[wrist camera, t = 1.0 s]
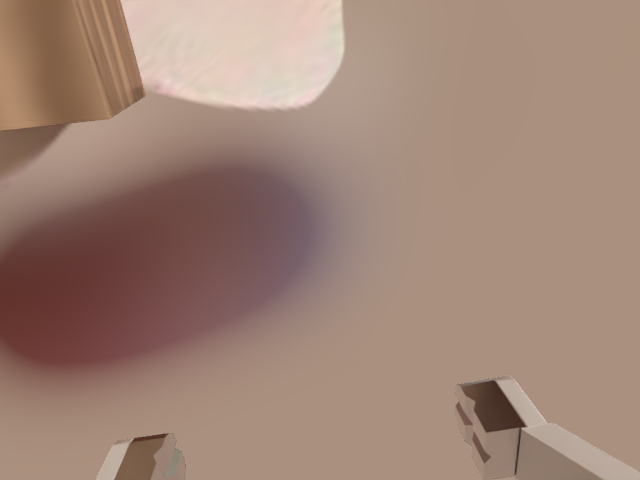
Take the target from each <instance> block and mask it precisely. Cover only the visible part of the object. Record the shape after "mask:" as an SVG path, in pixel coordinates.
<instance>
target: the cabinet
mask: <svg viewBox="0 0 640 480" xmlns="http://www.w3.org/2000/svg"><path fill="white" fill-rule="evenodd" d="M144 96H145V92H144V88H143V84H142V80H141V77H140V73H139V69H138V65H137V62H136V58H135V54H134V50H133V47H132V43H131V39H130V35H129V32H128V28H127V24H126V20H125V17H124V13H123V9H122V5H121V2H120V0H0V131H2V130H11V129H21V128H30V127H39V126H49V125H58V124H67V123H76V122H85V121H95V120H104V119H110V118H111V117H113V116H114V115H116V114H118V113H119V112H121V111H122V110H124V109H126V108H127V107H129V106H130V105H132V104H133V103H135V102H137V101H138V100H140V99H141V98H143V97H144Z"/></svg>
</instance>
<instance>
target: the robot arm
mask: <svg viewBox="0 0 640 480" xmlns="http://www.w3.org/2000/svg"><path fill="white" fill-rule="evenodd" d="M455 395H456V396H457V399H458V401H459V402H458V403H457V404H456V406H455V410H456V419H457V423H458V426H459V429H460V432H461V434H462V436H463V439H464V441H465V442H466V443H468V444H469V445H471V446H472V458H473V460H474V462H475V464H476V466H477V468H478V470H479V472H480V474H481V476H482V478H483V480H490V479H498V478H505V477H512V476H516V478H517V479H518V480H640V472H638V471H636V470H635V469H633V468H631V467H629V466H628V465H626V464H624V463H622V462H621V461H619V460H617V459H615V458H613V457H612V456H610V455H608V454H607V453H605V452H603V451H601V450H599V449H598V448H596V447H594V446H592V445H591V444H589V443H587V442H586V441H583V440H582V439H580V438H579V437H576V436H575V435H573V434H572V433H570V432H568V431H566V430H565V429H563V428H561V427H559V426H558V425H556V424H554V423H549V424H547V422H546V421H545V420H544V418H543V417H542V416H541V414H540V413H539V412H538V410H537V409H536V408H535V406H534V405H533V404H532V402H531V401H530V400H529V398H528V397H527V396H526V394H525V393H524V392H523V391H522V389H521V388H520V386H519V385H518V384H517V382H516V381H515V380H514V378H513V377H511V376H503V377H498V378H492V379H484V380H479V381H474V382H467V383H462V384H457V385H456V388H455ZM176 442H177V440H176V438H175V436H174V434H173V433H166V434H159V435H152V436H145V437H138V438H133V439H126V440H118V441H117V442H116V443H115V444H114V445H113V446H112V447H111V449H110V451H109V453H108V455H107V457H106V459H105V461H104V463H103V466H102V468H101V470H100V472H99V474H98V476H97V478H96V480H185V470H186V464H185V459H184V456H183V453H182V451H180V450H178V449H176V448H175V446H176Z"/></svg>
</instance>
